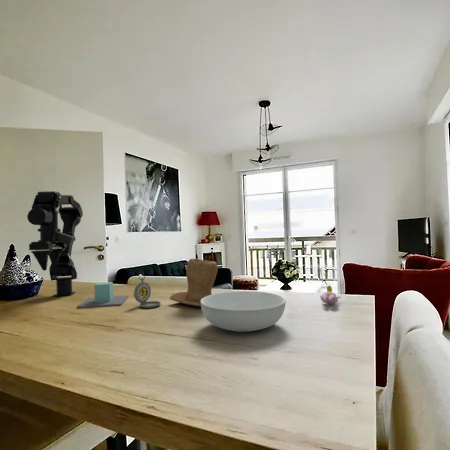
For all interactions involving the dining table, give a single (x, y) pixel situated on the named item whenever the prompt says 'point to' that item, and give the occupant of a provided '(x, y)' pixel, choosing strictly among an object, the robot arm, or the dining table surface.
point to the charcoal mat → (114, 302)
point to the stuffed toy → (329, 296)
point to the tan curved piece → (197, 282)
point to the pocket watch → (141, 289)
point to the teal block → (103, 292)
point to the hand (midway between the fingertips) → (49, 268)
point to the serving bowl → (243, 310)
